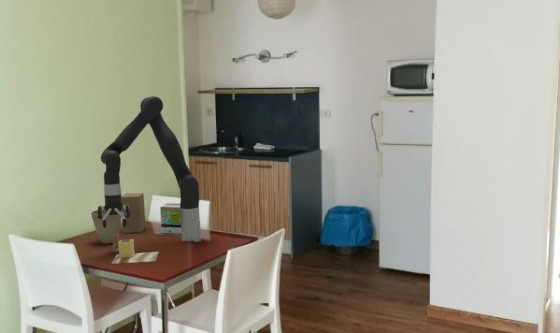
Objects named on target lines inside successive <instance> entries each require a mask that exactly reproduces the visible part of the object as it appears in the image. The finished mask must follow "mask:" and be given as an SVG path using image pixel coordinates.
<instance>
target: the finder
mask: <svg viewBox="0 0 560 333" xmlns="http://www.w3.org/2000/svg"><path fill="white" fill-rule="evenodd" d="M134 241H135V240H134V239H133V238H131V239H129V238H128V239H120V241H119V242H118V247H119V251H118V254H119V258H127V257H133V256H134V254H135V253H136V252H135V242H134Z"/></svg>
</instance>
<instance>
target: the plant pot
mask: <svg viewBox="0 0 560 333" xmlns="http://www.w3.org/2000/svg"><path fill="white" fill-rule="evenodd" d="M121 211H122V210H121ZM106 212H107V211H106V210H105V209H103V210H102V216H103V217H104V215H105V214H106ZM90 215H91V219H92V223H93V226H94V228H95V231H96V233H97V236H98V238H99V240H100V242H101V243H102V244H113V234H119V233H120V229H121V225H122V217H121V216H120V215H119V214H117V215H110V214H109V215H108V216H107V217H106V223H107V227H106V228H104V227H103V221H102V220H101V219H98V209H95V210H93V211H91V212H90ZM119 235H120V234H119Z"/></svg>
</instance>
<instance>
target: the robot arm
mask: <svg viewBox="0 0 560 333" xmlns="http://www.w3.org/2000/svg"><path fill="white" fill-rule="evenodd" d="M139 107H140V111H139V113H138V114H137V115H136V117H134V119H133V120H132V121H131V122H130V123H128V124H127V125H126V126H125V128H123V129H122V131H121V132H120V133H119V135H117V137H116V138H115V139H114V140H113V141H112V143H111V144H109V145H108V146H107V147H106V148H105V149H104V150H103V151H102V153H101V155H100V161H101V163H102V164H104V165H105V172H104V174H103V182H104V183H103V184H104V185H103V192H104V196H103V197H104V205H98V207H97V210H98V219H101V220H102V221H103V227H104V228H106V227H107V223H106V217H107V216H108V215H109V214H110V215H117V214H119V215H120V216H121V219H122V218H123V225H122V228H123V227H125V226H126V224H127V222H126V219H127V218H129V217H130V209H129V205H128V204H127V205H122V198H121V196H122V187H121V179H120V176H121V175H120V172H121V166H122V163H121V162H122V161H121V160H122V158H121V156H120V155H121V154H122V153H123V152H126V151H127V150H128V149H129V148H130V147H131V145H132V144H133V143H134V142H135V141H136V139H137V138H138V136H139V135H140V134H141V133H142V131H143V130H144V129H145V128H146V127H147V126H148V125H149V126H150V128H151V130H152V132H153V135H154V138H155V139H156V141H157V144H158V145H159V148H160V150H161V153H162V155H163V157H164V158H165V160H166V162H167V163H168V165H169V166H170V167H171V169H172V172H173V174H174V176H175V179H176V182H177V185H178V188H179V196H180V198H179V200H180V202H179V204H180V212H181V229H182V234H181V241H182V242H194V243H200V242H201V241H202V240H201V239H202V236H201V235H202V234H201V233H202V232H201V221H200V220H201V219H200V186H199V185H200V184H199V181H198V180H197V178H196V177H194V175H193V174H192V172H191V170H190V168H189V167H188V165H187V162H186V159H185V154H184V151H183V149H182V146H181V144H180V142H179V140H178V138H177V136H176V134H175V133H174V132H173V131H172V129H171V128H170V127H169V126H168V124H167V123H166V121H165V120H164V118H163V115H162V113H161V112H162V111H163V108H164V103H163V101H162V99H161V98H160V97H158V96H156V95H151V96H148V97H144V98H143V99H142V100H141V102H140V105H139ZM122 208H124V209H125V210H126V214H127V215H125V214H124V213H123V212H122V211H121V210H122ZM103 209H105V210H106V211H107V212H106V214H105V215H104V217H103V216H102V210H103Z"/></svg>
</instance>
